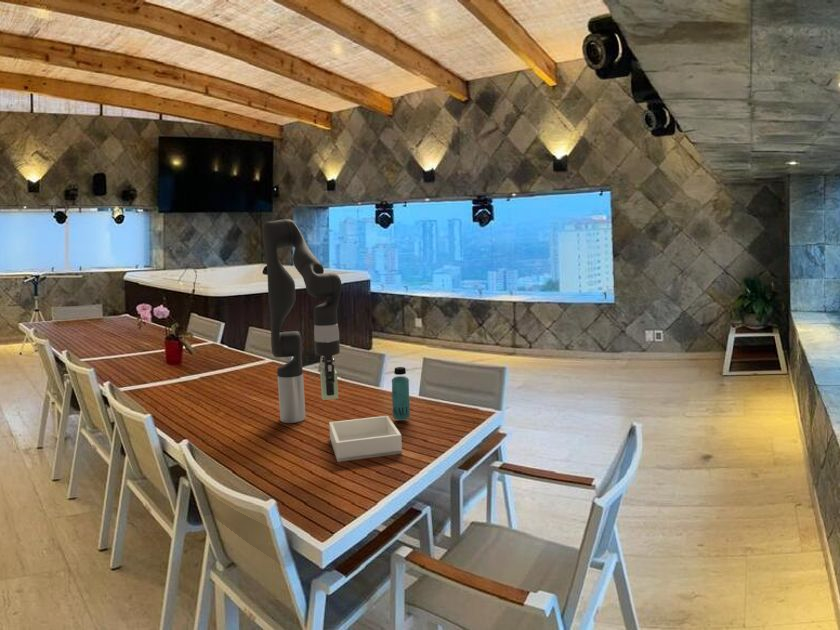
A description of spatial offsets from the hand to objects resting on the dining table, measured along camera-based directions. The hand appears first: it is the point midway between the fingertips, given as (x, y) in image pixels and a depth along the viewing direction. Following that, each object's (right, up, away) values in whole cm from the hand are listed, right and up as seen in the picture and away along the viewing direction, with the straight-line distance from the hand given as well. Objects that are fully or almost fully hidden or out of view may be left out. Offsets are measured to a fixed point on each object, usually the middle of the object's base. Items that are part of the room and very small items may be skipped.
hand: (329, 392), depth 175 cm
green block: (0, -1, 0) cm, 1 cm away
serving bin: (+10, -18, +7) cm, 22 cm away
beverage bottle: (+21, -15, +31) cm, 40 cm away
